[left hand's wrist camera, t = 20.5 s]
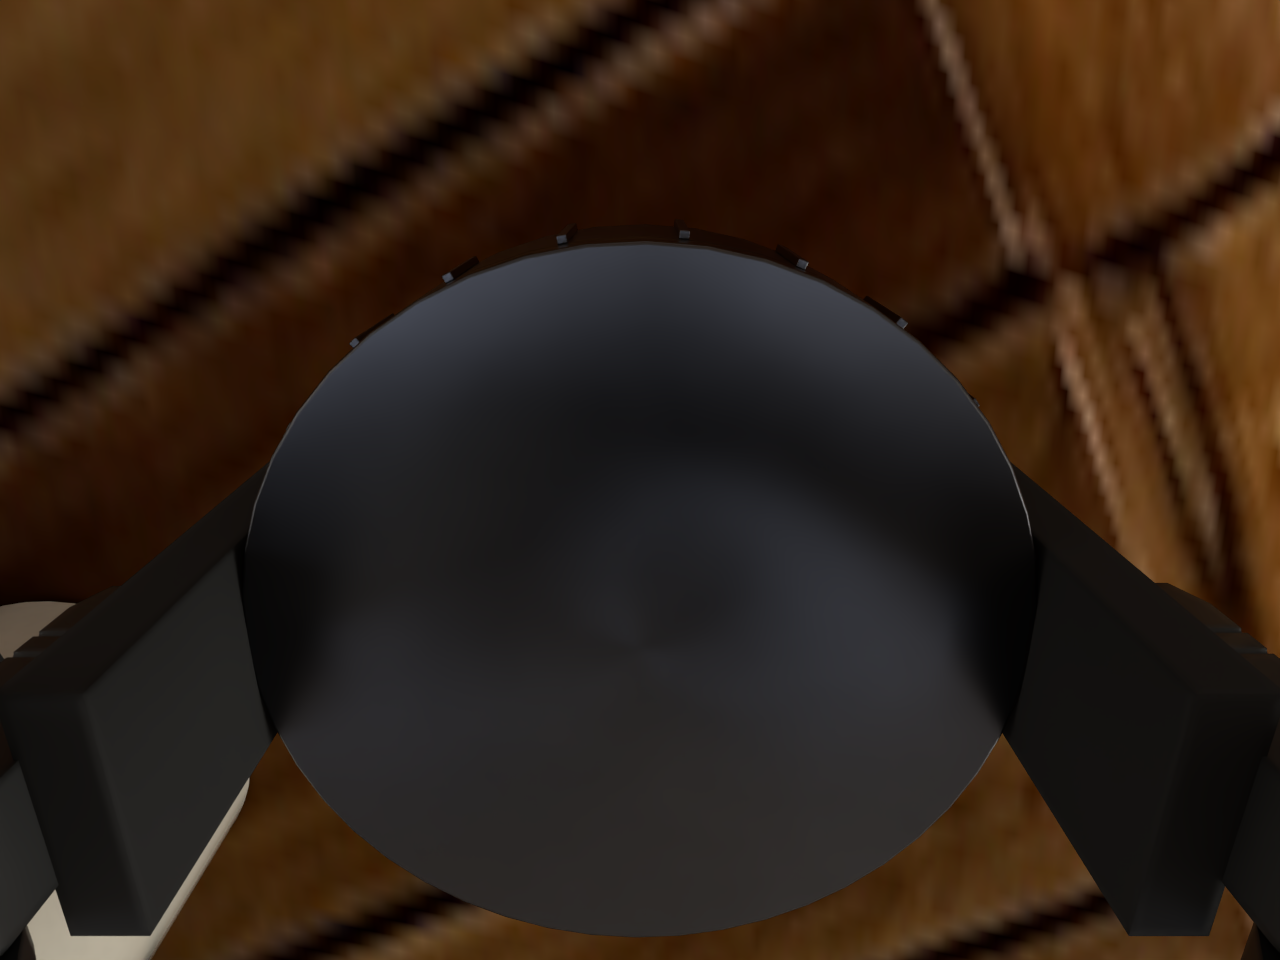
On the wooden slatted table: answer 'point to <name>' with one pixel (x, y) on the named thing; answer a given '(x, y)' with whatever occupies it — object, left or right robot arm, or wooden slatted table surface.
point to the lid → (639, 584)
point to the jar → (53, 944)
